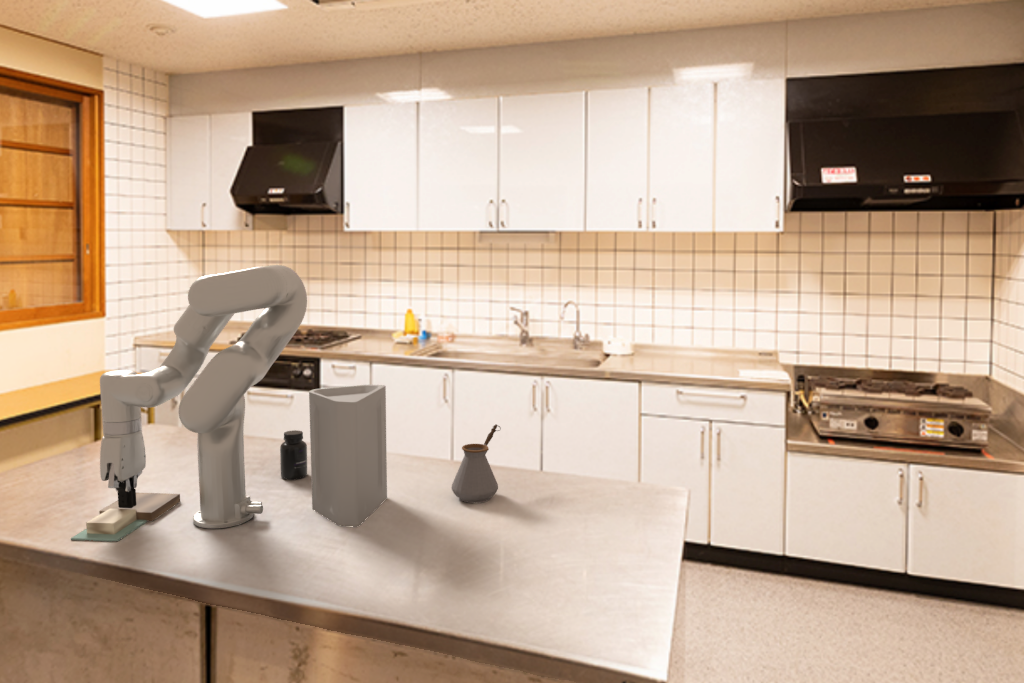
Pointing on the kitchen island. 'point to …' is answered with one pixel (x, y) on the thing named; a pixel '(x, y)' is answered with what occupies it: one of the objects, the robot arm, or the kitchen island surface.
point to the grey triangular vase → (348, 452)
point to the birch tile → (111, 521)
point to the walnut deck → (149, 505)
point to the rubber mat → (109, 537)
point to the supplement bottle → (293, 456)
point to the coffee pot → (475, 474)
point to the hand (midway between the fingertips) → (127, 506)
